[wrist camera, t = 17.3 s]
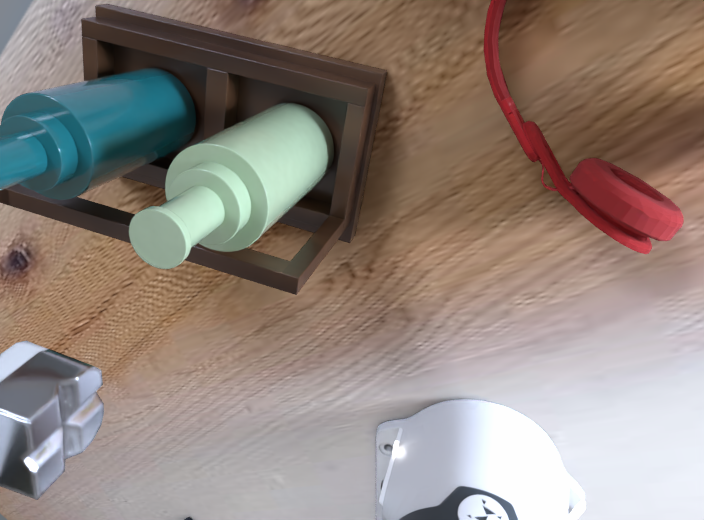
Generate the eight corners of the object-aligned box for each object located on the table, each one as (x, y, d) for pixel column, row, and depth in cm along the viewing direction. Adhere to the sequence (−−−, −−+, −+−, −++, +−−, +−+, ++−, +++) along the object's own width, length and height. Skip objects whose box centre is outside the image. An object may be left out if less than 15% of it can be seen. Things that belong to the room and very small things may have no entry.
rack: (355, 235, 48) (297, 318, 37) (112, 165, 52) (-6, 221, 41) (387, 70, 42) (329, 111, 31) (107, 3, 46) (-33, 19, 35)
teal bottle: (193, 161, 47) (20, 249, 32) (121, 141, 48) (-81, 216, 33) (199, 78, 44) (11, 130, 29) (121, 58, 45) (-100, 98, 30)
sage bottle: (327, 198, 45) (213, 315, 30) (248, 176, 47) (99, 278, 31) (341, 114, 42) (223, 196, 27) (257, 93, 44) (96, 159, 28)
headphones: (833, 155, 36) (682, -157, 34) (882, 178, 30) (701, -202, 28) (591, 257, 43) (454, 2, 41) (590, 293, 37) (428, -6, 35)
